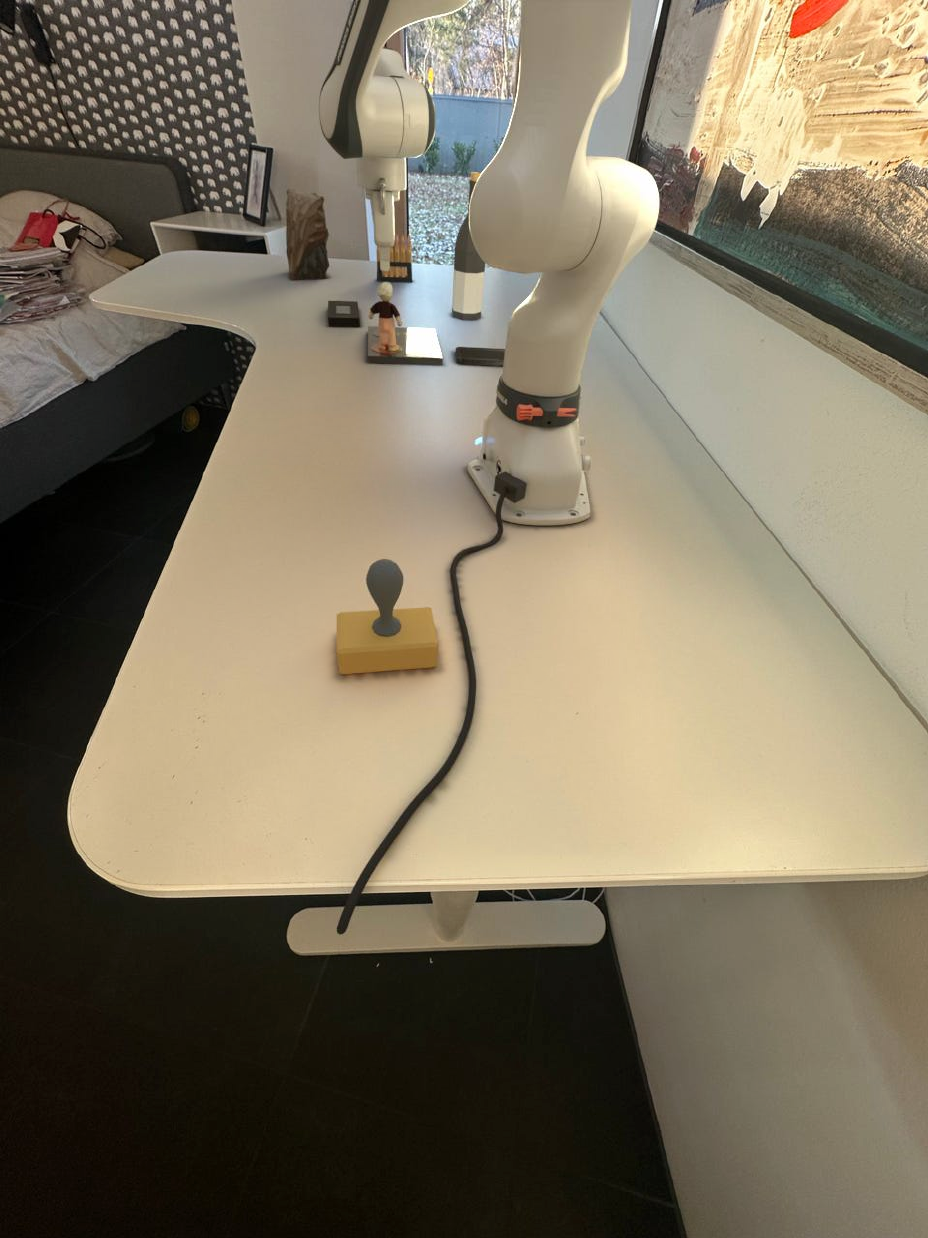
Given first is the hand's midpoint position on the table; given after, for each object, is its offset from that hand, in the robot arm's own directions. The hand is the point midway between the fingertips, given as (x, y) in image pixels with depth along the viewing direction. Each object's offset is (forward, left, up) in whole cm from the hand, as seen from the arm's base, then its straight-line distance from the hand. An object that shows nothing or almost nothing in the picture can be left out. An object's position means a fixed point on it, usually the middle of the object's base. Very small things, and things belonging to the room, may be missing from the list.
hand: (384, 264), depth 109 cm
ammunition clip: (+65, -4, -18) cm, 68 cm away
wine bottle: (+32, -22, -18) cm, 43 cm away
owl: (+66, +23, -18) cm, 72 cm away
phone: (-1, -23, -17) cm, 29 cm away
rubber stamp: (-89, +2, -18) cm, 91 cm away
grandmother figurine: (0, 0, -16) cm, 16 cm away
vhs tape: (+26, +10, -18) cm, 33 cm away
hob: (+5, -4, -17) cm, 18 cm away
